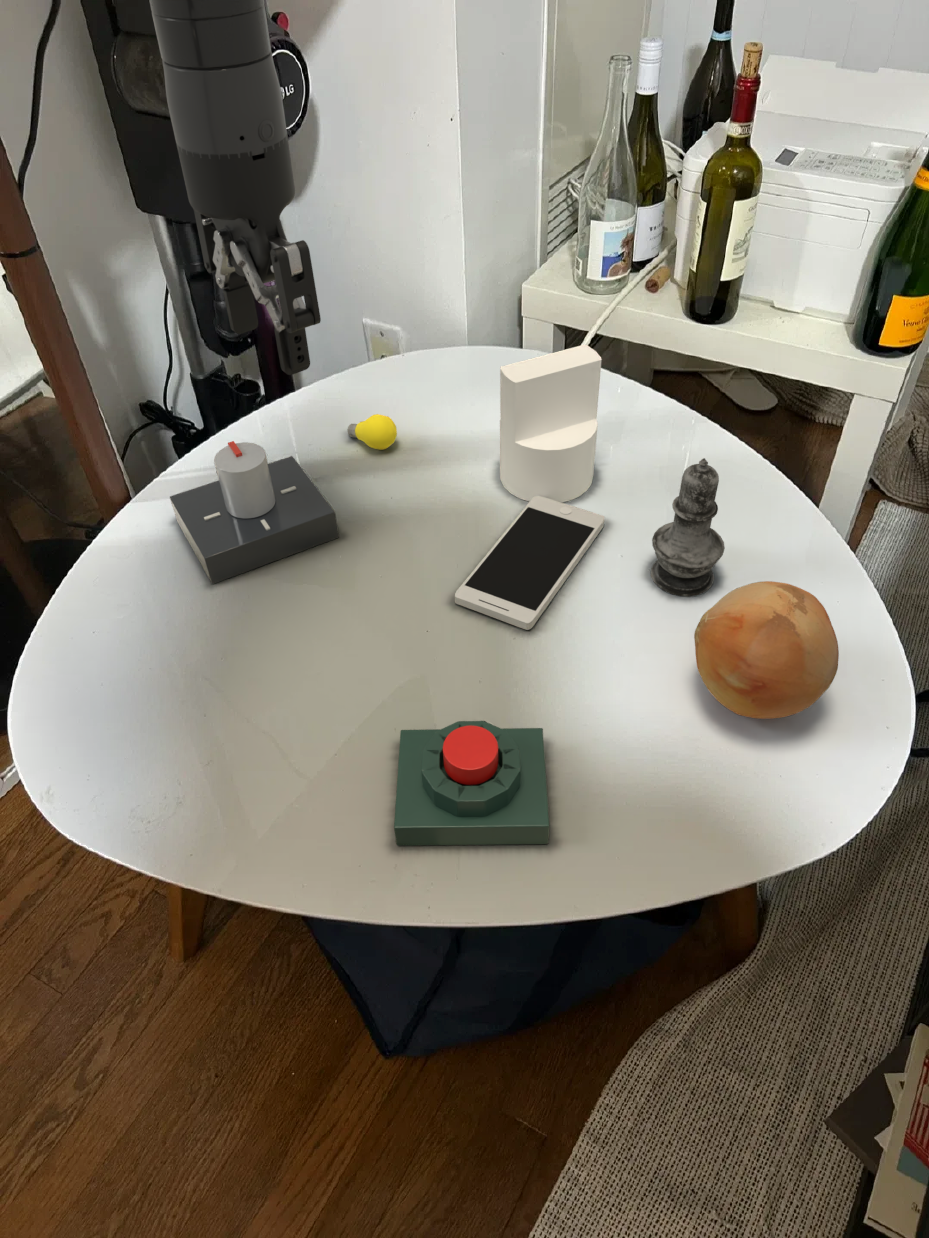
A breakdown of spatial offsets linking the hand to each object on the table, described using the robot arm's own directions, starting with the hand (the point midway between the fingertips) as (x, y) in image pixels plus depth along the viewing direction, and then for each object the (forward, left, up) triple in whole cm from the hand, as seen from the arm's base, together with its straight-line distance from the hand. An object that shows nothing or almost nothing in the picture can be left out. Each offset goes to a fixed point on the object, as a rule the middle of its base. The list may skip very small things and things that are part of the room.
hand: (270, 349), depth 74 cm
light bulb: (+11, +7, -17) cm, 21 cm away
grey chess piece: (+25, -25, -17) cm, 39 cm away
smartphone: (+15, -17, -17) cm, 28 cm away
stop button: (-2, -35, -13) cm, 38 cm away
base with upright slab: (+23, -7, -17) cm, 29 cm away
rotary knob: (-4, 0, -14) cm, 14 cm away
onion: (+21, -38, -17) cm, 47 cm away
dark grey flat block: (-4, 0, -17) cm, 17 cm away
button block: (-2, -35, -17) cm, 39 cm away
